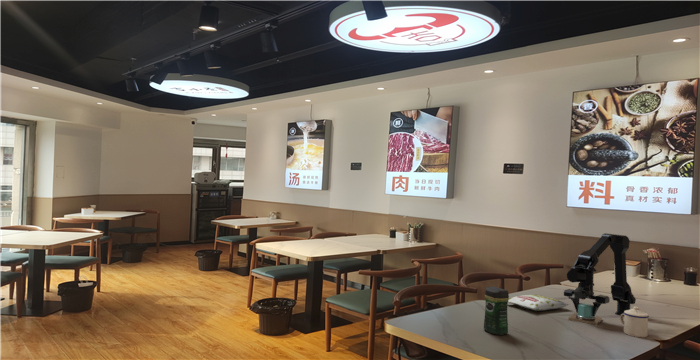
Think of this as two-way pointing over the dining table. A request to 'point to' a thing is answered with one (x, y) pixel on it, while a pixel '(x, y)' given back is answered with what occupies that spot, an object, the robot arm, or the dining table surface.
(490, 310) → the coffee jar
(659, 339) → the dining table surface
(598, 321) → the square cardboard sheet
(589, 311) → the cap
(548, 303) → the frozen beans
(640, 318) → the teacup with lid
